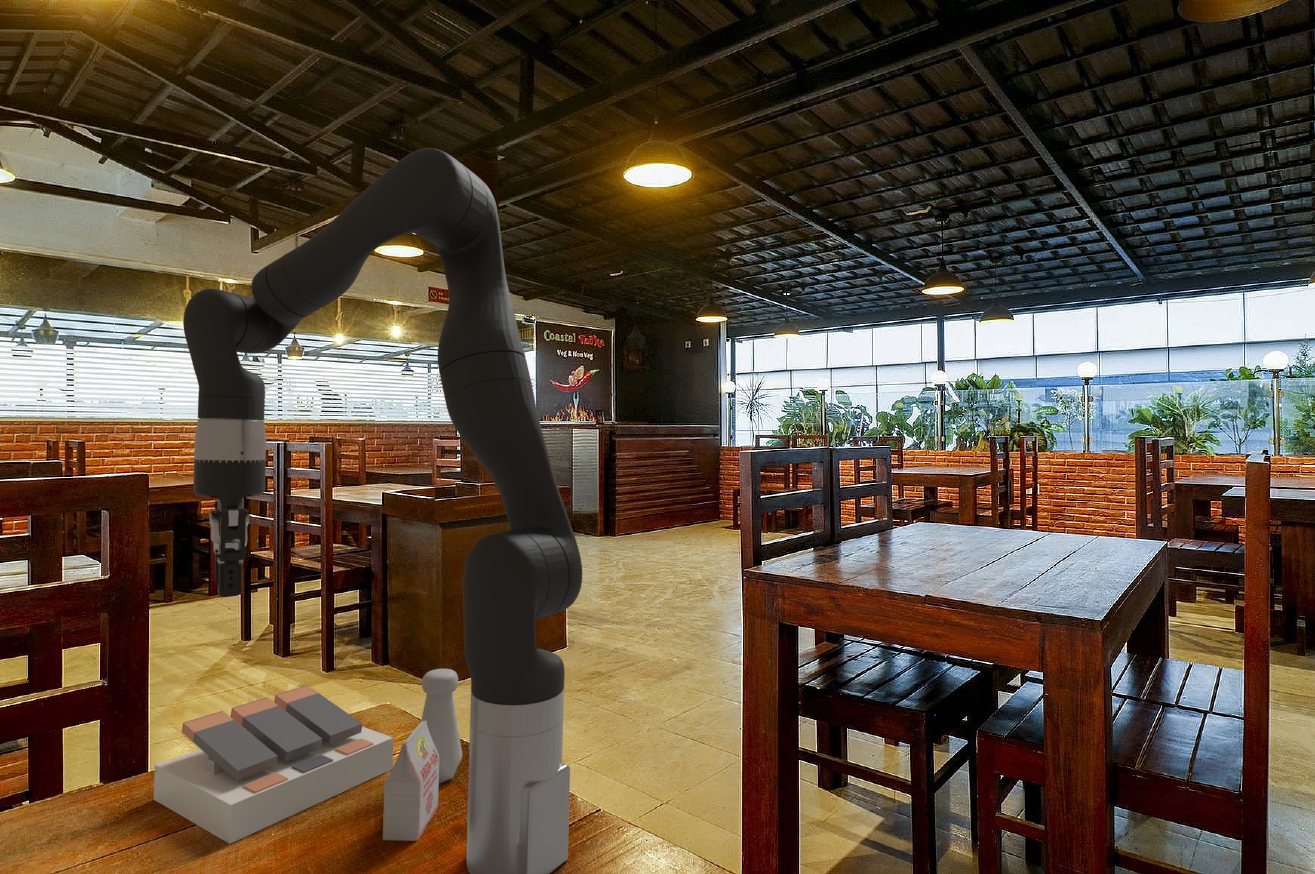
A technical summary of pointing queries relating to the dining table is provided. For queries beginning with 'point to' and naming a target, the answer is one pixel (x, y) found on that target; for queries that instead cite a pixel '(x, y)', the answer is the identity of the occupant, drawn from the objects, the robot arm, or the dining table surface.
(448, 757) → the salt shaker
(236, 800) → the switch box
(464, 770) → the dining table surface
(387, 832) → the white gabled box
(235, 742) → the switch
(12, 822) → the dining table surface
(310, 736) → the switch
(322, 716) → the switch
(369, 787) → the dining table surface
